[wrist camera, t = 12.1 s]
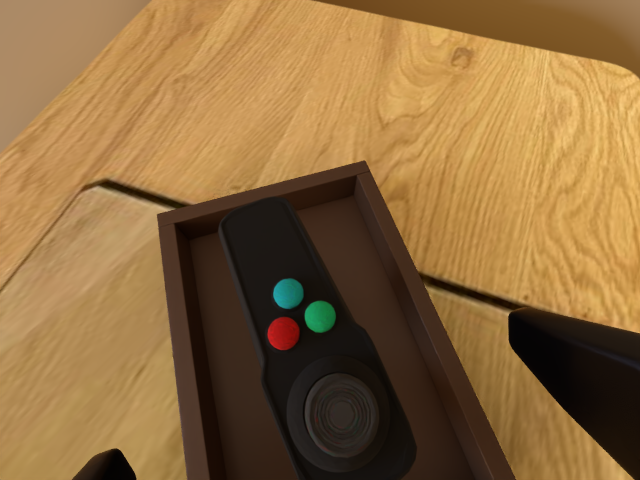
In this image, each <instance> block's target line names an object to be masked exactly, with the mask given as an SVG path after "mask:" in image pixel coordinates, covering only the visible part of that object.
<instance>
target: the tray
mask: <svg viewBox="0 0 640 480" xmlns="http://www.w3.org/2000/svg"><path fill="white" fill-rule="evenodd" d="M272 196H276V197H284V198H286V199H287V200H288V201H289V202H290V203H291V204H292V205H293V206H294V208H295V210H296V212H297V214H298V216H299V217H300V219H301V221H302V223H303V225H304V226H305V228H306V230H307V232H308V234H309V236H310V238H311V240H312V241H313V243H314V245H315V247H316V249H317V251H318V253H319V255H320V256H321V258H322V260H323V262H324V264H325V266H326V268H327V269H328V271H329V273H330V275H331V277H332V279H333V281H334V283H335V284H336V286H337V288H338V290H339V292H340V294H341V296H342V297H343V299H344V301H345V303H346V305H347V307H348V309H349V310H350V312H351V314H352V316H353V318H354V320H355V322H356V323H357V324H359V325H360V326H361V327H363V328H364V329H366V331H367V333H368V334H369V336H370V338H371V339H372V341H373V343H374V345H375V347H376V349H377V352H378V354H379V356H380V358H381V361H382V363H383V365H384V367H385V369H386V372H387V374H388V376H389V378H390V381H391V383H392V385H393V387H394V390H395V392H396V394H397V396H398V399H399V401H400V403H401V405H402V407H403V410H404V412H405V414H406V416H407V419H408V421H409V423H410V426H411V429H412V432H413V436H414V439H415V442H416V445H417V454H416V460H415V462H414V464H413V466H412V468H411V469H410V471H409V472H408V473H407V474H406V475H405V476H404V477H403V478H402V479H401V480H516V479H515V477H514V475H513V472H512V470H511V468H510V466H509V464H508V462H507V460H506V458H505V455H504V453H503V451H502V449H501V447H500V445H499V443H498V441H497V439H496V436H495V434H494V432H493V430H492V428H491V426H490V424H489V422H488V420H487V417H486V415H485V413H484V411H483V409H482V407H481V405H480V403H479V400H478V398H477V396H476V394H475V392H474V390H473V388H472V386H471V384H470V381H469V379H468V377H467V375H466V373H465V371H464V369H463V367H462V364H461V362H460V360H459V358H458V356H457V354H456V352H455V350H454V348H453V345H452V343H451V341H450V339H449V337H448V335H447V333H446V331H445V328H444V326H443V324H442V322H441V320H440V318H439V316H438V314H437V312H436V309H435V307H434V305H433V303H432V301H431V299H430V297H429V295H428V292H427V290H426V288H425V286H424V284H423V282H422V280H421V278H420V276H419V273H418V271H417V269H416V267H415V265H414V263H413V261H412V259H411V257H410V254H409V252H408V250H407V248H406V246H405V244H404V242H403V240H402V237H401V235H400V233H399V231H398V229H397V227H396V225H395V223H394V221H393V218H392V216H391V214H390V212H389V210H388V208H387V206H386V204H385V201H384V199H383V197H382V195H381V193H380V191H379V189H378V187H377V185H376V182H375V180H374V178H373V176H372V174H371V172H370V170H369V168H368V166H367V163H366V161H361V162H357V163H353V164H349V165H345V166H341V167H338V168H334V169H330V170H326V171H322V172H318V173H314V174H311V175H307V176H303V177H299V178H295V179H291V180H287V181H283V182H280V183H276V184H272V185H268V186H264V187H260V188H256V189H253V190H249V191H245V192H241V193H237V194H233V195H229V196H226V197H222V198H218V199H214V200H210V201H206V202H202V203H198V204H195V205H191V206H187V207H183V208H179V209H175V210H171V211H168V212H164V213H160V214H157V219H158V227H159V228H158V229H159V238H160V246H161V255H162V264H163V272H164V281H165V290H166V298H167V307H168V316H169V324H170V333H171V342H172V350H173V359H174V368H175V376H176V385H177V394H178V402H179V411H180V420H181V428H182V437H183V446H184V454H185V463H186V472H187V480H298V478H297V476H296V473H295V471H294V469H293V466H292V464H291V461H290V459H289V456H288V454H287V451H286V449H285V446H284V444H283V441H282V439H281V436H280V434H279V431H278V429H277V426H276V424H275V421H274V419H273V417H272V414H271V412H270V409H269V407H268V404H267V402H266V399H265V397H264V393H263V389H262V385H261V382H260V377H261V367H260V364H259V361H258V358H257V355H256V352H255V349H254V345H253V342H252V339H251V336H250V333H249V330H248V326H247V323H246V320H245V317H244V314H243V311H242V307H241V304H240V301H239V298H238V295H237V292H236V289H235V285H234V282H233V279H232V276H231V273H230V270H229V266H228V263H227V260H226V257H225V254H224V251H223V247H222V244H221V241H220V238H219V235H218V229H219V224H220V221H221V220H222V219H223V218H224V217H225V216H226V215H227V214H228V213H229V212H231V211H232V210H234V209H236V208H238V207H241V206H243V205H246V204H249V203H252V202H254V201H257V200H260V199H263V198H267V197H272Z"/></svg>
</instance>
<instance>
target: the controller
mask: <svg viewBox="0 0 640 480" xmlns="http://www.w3.org/2000/svg"><path fill="white" fill-rule="evenodd" d="M218 235H219V238H220V241H221V244H222V247H223V251H224V254H225V257H226V260H227V263H228V266H229V270H230V273H231V276H232V279H233V282H234V285H235V289H236V292H237V295H238V298H239V301H240V304H241V307H242V311H243V314H244V317H245V320H246V323H247V326H248V330H249V333H250V336H251V339H252V342H253V345H254V349H255V352H256V355H257V358H258V361H259V364H260V367H261V377H260V382H261V385H262V389H263V393H264V397H265V399H266V402H267V404H268V407H269V409H270V412H271V414H272V417H273V419H274V421H275V424H276V426H277V429H278V431H279V434H280V436H281V439H282V441H283V444H284V446H285V449H286V451H287V454H288V456H289V459H290V461H291V464H292V466H293V469H294V471H295V473H296V476H297V478H298V480H401V479H402V478H403V477H404V476H405V475H406V474H407V473H408V472H409V471H410V469H411V468H412V466H413V464H414V462H415V460H416V454H417V445H416V442H415V439H414V436H413V432H412V429H411V426H410V423H409V421H408V419H407V416H406V414H405V412H404V410H403V407H402V405H401V403H400V401H399V399H398V396H397V394H396V392H395V390H394V387H393V385H392V383H391V381H390V378H389V376H388V374H387V372H386V369H385V367H384V365H383V363H382V361H381V358H380V356H379V354H378V352H377V349H376V347H375V345H374V343H373V341H372V339H371V338H370V336H369V334H368V333H367V331H366V329H364V328H363V327H361V326H360V325H359V324H357V323H356V322H355V320H354V318H353V316H352V314H351V312H350V310H349V309H348V307H347V305H346V303H345V301H344V299H343V297H342V296H341V294H340V292H339V290H338V288H337V286H336V284H335V283H334V281H333V279H332V277H331V275H330V273H329V271H328V269H327V268H326V266H325V264H324V262H323V260H322V258H321V256H320V255H319V253H318V251H317V249H316V247H315V245H314V243H313V241H312V240H311V238H310V236H309V234H308V232H307V230H306V228H305V226H304V225H303V223H302V221H301V219H300V217H299V216H298V214H297V212H296V210H295V208H294V206H293V205H292V204H291V203H290V202H289V201H288V200H287V199H286V198H284V197H276V196H272V197H267V198H263V199H260V200H257V201H254V202H252V203H249V204H246V205H243V206H241V207H238V208H236V209H234V210H232V211H231V212H229V213H228V214H227V215H226V216H225V217H224V218H223V219H222V220H221V221H220V224H219V229H218Z"/></svg>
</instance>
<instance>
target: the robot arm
mask: <svg viewBox="0 0 640 480" xmlns="http://www.w3.org/2000/svg"><path fill="white" fill-rule="evenodd" d="M508 331H509V343H510V345H511V347H512V349H513V350H514V352H515V353H516V354H517V355H518V356H519V358H520V359H521V360H522V361H523V362H524V363H525V365H526V366H527V367H528V368H529V369H530V371H531V372H532V373H533V374H534V375H535V376H536V378H537V379H538V380H539V381H540V382H541V383H542V385H543V386H544V387H545V388H546V389H547V391H548V392H549V393H550V394H551V395H552V396H553V398H554V399H555V400H556V401H557V402H558V403H559V404H560V405H561V407H562V408H563V409H564V410H565V411H566V412H567V413H568V414H569V415H570V416H571V417H572V418H573V419H574V420H575V421H576V422H577V423H578V424H579V425H580V426H581V427H582V428H583V429H584V430H585V431H586V432H587V433H588V434H589V435H590V436H591V437H592V438H593V439H594V440H595V441H596V442H597V443H598V444H599V445H600V446H601V447H602V448H603V449H604V450H605V451H606V452H607V453H608V454H609V455H610V456H611V457H612V458H613V459H614V460H615V461H616V462H617V463H618V464H619V465H620V466H621V467H622V468H623V469H624V470H625V471H626V472H627V473H628V474H629V475H630V476H631V477H632V478H633V479H634V480H640V333H636V332H631V331H627V330H623V329H619V328H614V327H610V326H606V325H602V324H597V323H593V322H589V321H585V320H580V319H576V318H572V317H568V316H563V315H559V314H555V313H551V312H546V311H542V310H538V309H533V308H529V307H524V308H521V309H518V310H515V311H512V312H511V313H510V314H509V316H508ZM72 480H136V475H135V473H134V471H133V469H132V468H131V466H130V465H129V463H128V461H127V460H126V458H125V457H124V455H123V453H122V452H121V451H120V450H119V449H111V450H108V451H105V452H102V453H99V454H97V455H95V456H94V457H92V458H91V459H90V460H89V462H88V463H87V464H86V465H85V466H84V467H83V468H82V469H81V470H80V471H79V472H78V473H77V475H76V476H75V477H74V478H73V479H72Z"/></svg>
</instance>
